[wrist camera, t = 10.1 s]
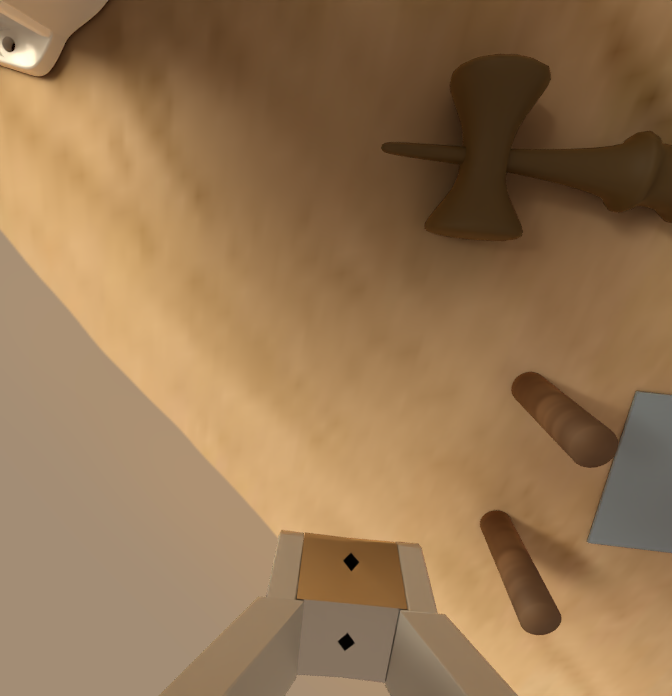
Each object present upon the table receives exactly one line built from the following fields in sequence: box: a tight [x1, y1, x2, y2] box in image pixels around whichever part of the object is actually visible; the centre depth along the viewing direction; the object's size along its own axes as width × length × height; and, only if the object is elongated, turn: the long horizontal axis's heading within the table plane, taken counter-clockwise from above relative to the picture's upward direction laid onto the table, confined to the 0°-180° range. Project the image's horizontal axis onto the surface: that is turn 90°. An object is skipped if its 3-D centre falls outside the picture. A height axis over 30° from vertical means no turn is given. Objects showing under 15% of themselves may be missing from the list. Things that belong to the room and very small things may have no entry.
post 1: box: [480, 511, 561, 635], centre depth 30 cm, size 3×3×9 cm
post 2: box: [512, 372, 618, 468], centre depth 27 cm, size 3×3×9 cm
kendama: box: [381, 54, 672, 241], centre depth 25 cm, size 6×10×20 cm
